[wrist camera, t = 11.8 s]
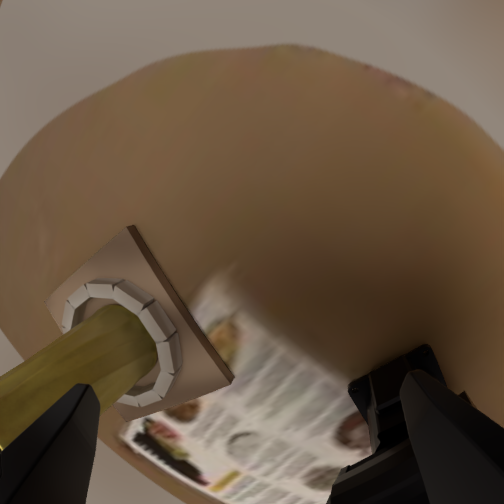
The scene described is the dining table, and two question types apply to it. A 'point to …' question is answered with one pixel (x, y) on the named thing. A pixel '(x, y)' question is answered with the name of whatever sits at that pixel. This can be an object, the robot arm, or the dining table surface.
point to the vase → (78, 368)
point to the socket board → (153, 318)
